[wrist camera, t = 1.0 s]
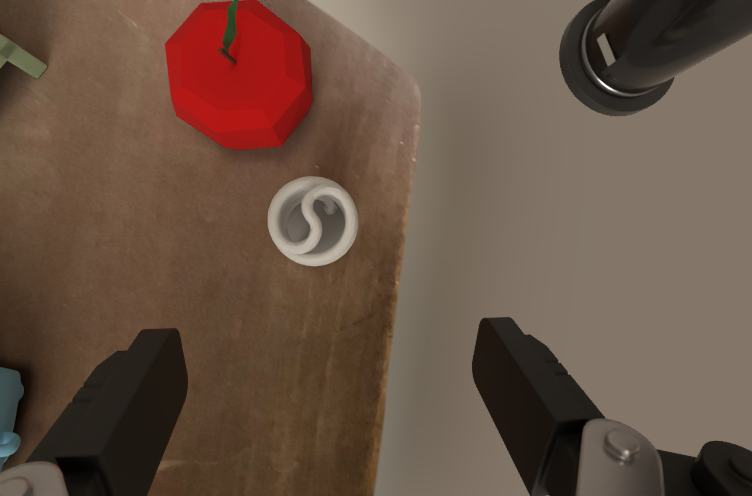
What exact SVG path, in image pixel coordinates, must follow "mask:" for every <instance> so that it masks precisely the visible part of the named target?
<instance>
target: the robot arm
mask: <svg viewBox="0 0 752 496" xmlns="http://www.w3.org/2000/svg"><path fill="white" fill-rule="evenodd" d="M750 34H752V0H611V1H610V2H609V3H608V4H607V5H606V6H605V7H603V8H602V9H600V10H599V11H598V12H597V13H596V14H595V15H594V16H593V17H592V18H591V19H590V20H589V21H588V22H587V24H586V25H585V27H584V29H583V31H582V33H581V36H580V40H579V59H580V63H581V66H582V68H583V71H584V73H585V74H586V76H587V78H588V79H589V80H590V82H591V83H592V84H593V85H594V86H595V87H596V88H598V89H599V90H600V91H602V92H603V93H605V94H607V95H609V96H612V97H615V98H620V99H632V98H637V97H640V96H643V95H645V94H647V93H648V92H650V91H652V90H654V89H655V88H657V87H658V86H659V85H660V84H662V83H664V82H666V81H668V80H669V79H671V78H673V77H675V76H677V75H679V74H681V73H682V72H684V71H686V70H688V69H689V68H691V67H693V66H695V65H696V64H698V63H700V62H702V61H704V60H706V59H707V58H709V57H711V56H713V55H714V54H716V53H718V52H720V51H722V50H723V49H725V48H727V47H729V46H730V45H732V44H734V43H736V42H738V41H739V40H741V39H743V38H744V37H747V36H748V35H750ZM472 373H473V378H474V382H475V384H476V387H477V389H478V391H479V393H480V395H481V396H482V399H483V401H484V403H485V405H486V407H487V409H488V411H489V413H490V415H491V417H492V419H493V421H494V423H495V425H496V427H497V429H498V431H499V433H500V435H501V437H502V439H503V441H504V444H505V445H506V448H507V450H508V452H509V454H510V456H511V458H512V460H513V462H514V464H515V466H516V468H517V470H518V472H519V474H520V476H521V478H522V480H523V482H524V484H525V486H526V488H527V490H528V492H529V494H530V496H545V495H549V496H752V452H751V451H750V450H747V449H745V448H743V447H740V446H738V445H735V444H732V443H728V442H723V441H710V442H708V443H706V444H705V445H704V446H703V447H702V449H701V451H700V453H699V455H698V456H697V458H696V457H691V456H687V455H682V454H676V453H672V452H667V451H662V450H657V449H655V447H654V446H653V445H652V444H651V442H650V441H648V440H647V439H646V438H645V437H644V436H643V435H642V434H640V433H639V432H638V431H636V430H635V429H633V428H631V427H629V426H627V425H625V424H623V423H621V422H618V421H615V420H610V419H606V418H605V417H604V416H603V415H602V413H601V412H600V411H599V410H598V408H597V407H596V406H595V405H594V404H593V402H592V401H591V400H590V399H589V397H588V396H587V395H586V394H585V392H584V391H583V390H582V389H581V388H580V386H579V385H578V384H577V383H576V381H575V380H574V379H573V378H572V377H571V375H568V372H567V370H566V369H565V368H564V367H563V366H562V364H561V363H558V360H557V358H556V357H555V356H554V354H553V353H552V352H551V351H550V350H549V348H548V347H547V346H546V345H544V344H543V343H541V342H540V341H539V340H537V339H536V338H534V337H533V336H531V335H524V333H523V332H522V331H521V329H520V328H519V327H518V326H517V324H516V323H515V322H514V320H513V319H512V318H510V317H502V318H483V319H482V320H481V321H480V324H479V329H478V334H477V340H476V345H475V350H474V355H473V361H472ZM187 389H188V375H187V369H186V364H185V359H184V354H183V349H182V343H181V338H180V334H179V331H178V330H177V329H176V328H166V329H143V330H142V331H140V333H139V334H138V335H137V337H136V338H135V340H134V341H133V343H132V344H131V346H130V347H129V349H128V350H127V351H117V352H115V353H114V354H113V355H111V356H110V357H109V358H107V359H106V360H105V361H103V362H102V363H101V364H99V365H98V366H97V367H96V368H95V369H94V371H93V372H92V373H91V375H90V376H89V378H88V379H87V380H86V382H85V383H84V387H81V388H80V390H79V391H78V392H77V394H76V395H75V396H74V398H73V401H72V403H69V404H68V406H67V407H66V408H65V410H64V411H63V412H62V414H61V415H60V416H59V418H58V419H57V420H56V422H55V423H54V424H53V426H52V427H51V428H50V430H49V431H48V433H47V434H46V435H45V437H44V438H43V439H42V441H41V442H40V443H39V445H38V446H37V447H36V449H35V450H34V451H33V453H32V454H31V455H30V457H29V458H28V459H27V461H26V462H25V463H24V464H21V465H18V466H15V467H12V468H10V469H8V470H5V471H3V472H1V473H0V496H147V494H148V491H149V489H150V486H151V484H152V481H153V479H154V476H155V474H156V471H157V469H158V466H159V464H160V461H161V459H162V457H163V454H164V452H165V449H166V447H167V444H168V442H169V439H170V437H171V434H172V432H173V429H174V427H175V424H176V422H177V419H178V417H179V414H180V412H181V409H182V407H183V405H184V402H185V399H186V395H187Z"/></svg>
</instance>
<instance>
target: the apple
mask: <svg viewBox="0 0 752 496" xmlns="http://www.w3.org/2000/svg"><path fill="white" fill-rule="evenodd" d="M165 49H166V58H167V66H168V75H169V84H170V92H171V99H172V103H173V106H174V109H175V113H176V116H177V117H179V118H180V119H182V120H184V121H185V122H187V123H188V124H190V125H191V126H193V127H194V128H196V129H197V130H199V131H200V132H202V133H203V134H205V135H207V136H208V137H210V138H211V139H213V140H214V141H216V142H217V143H219V144H220V145H222V146H223V147H225V148H230V149H234V150H247V149H258V148H269V147H279V146H282V145H283V144H284V143H285V141H286V140H287V138H288V137H289V136H290V134H291V133H292V132H293V131H294V129H295V128H296V127H297V126H298V125H299V123H300V122H301V121H302V120H303V118H304V117H305V116H306V115H307V113H308V111H309V109H310V106H311V104H312V102H313V98H312V75H311V53H310V47H309V46H308V45H307V43H306V42H305V41H304V39H303V38H302V37H301V36H300V34H299V33H297V32H296V31H295V30H294V29H292V28H291V27H290V26H289V25H287V24H286V23H285V22H284V21H282V20H281V19H280V18H278V17H277V16H276V15H275V14H273V13H272V12H271V11H270V10H268V9H267V8H266V7H265V6H263V5H262V4H261V3H260V2H258V1H257V0H244V1H238V0H234V1H228V2H213V3H200V5H199V6H198V7H197V8H196V9H195V10H194V11H193V12H192V14H191V15H190V16H189V17H188V18H187V19H186V20H185V22H184V23H183V24H182V25H181V26H180V27H179V28H178V30H177V31H176V32H175V33H174V34H173V35H172V36H171V37H170V39H169V40H168V41H167V42H166V43H165Z"/></svg>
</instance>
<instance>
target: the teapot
mask: <svg viewBox="0 0 752 496" xmlns="http://www.w3.org/2000/svg"><path fill="white" fill-rule="evenodd" d="M23 393H24V387H23V385H22V383H21V377H20V373H19V372H18V371H15V370H12V369H7V368H2V367H0V473H1V470H2V467H3V464H4V462H6V460H7V459H8V457H9V455H11V454H13V453H14V452H16V450H17V449H18V448H19V446H20V443H21V439H20V436H19V435H18V434H16V433H13V429H14V424H15V419H16V413H17V406H18V401H19V400H20V399H21V398H22V396H23Z"/></svg>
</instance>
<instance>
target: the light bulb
mask: <svg viewBox="0 0 752 496" xmlns="http://www.w3.org/2000/svg"><path fill="white" fill-rule="evenodd" d="M268 229H269V232H270V234H271V237H272V239H273V241H274V243H275V244H276V246H277V247H278V248H279V250H280V251H281V252H282V253H283V254H284V255H286V256H287V257H288V258H289V259H291V260H293V261H295V262H297V263H299V264H303V265H307V266H321V265H326V264H329V263H331V262H334V261H336V260H337V259H339V258H340V257H342V256H343V255H344V254H345V253H346V252H347V251H348V250H349V248H350V247H351V246H352V244H353V242H354V240H355V238H356V235H357V230H358V213H357V210H356V207H355V204H354V202H353V200H352V198H351V196H350V195H349V194H348V192H347V191H346V190H345V189H343V188H342V187H341V186H340V185H339V184H337V183H335V182H334V181H332V180H329V179H326V178H323V177H316V176H307V177H301V178H298V179H295V180H293V181H291V182H289V183H287V184H286V185H285V186H283V187H282V188H281V189H280V190H279V191H278V192H277V194H276V195H275V196H274V198H273V200H272V202H271V205H270V207H269V210H268Z"/></svg>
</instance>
